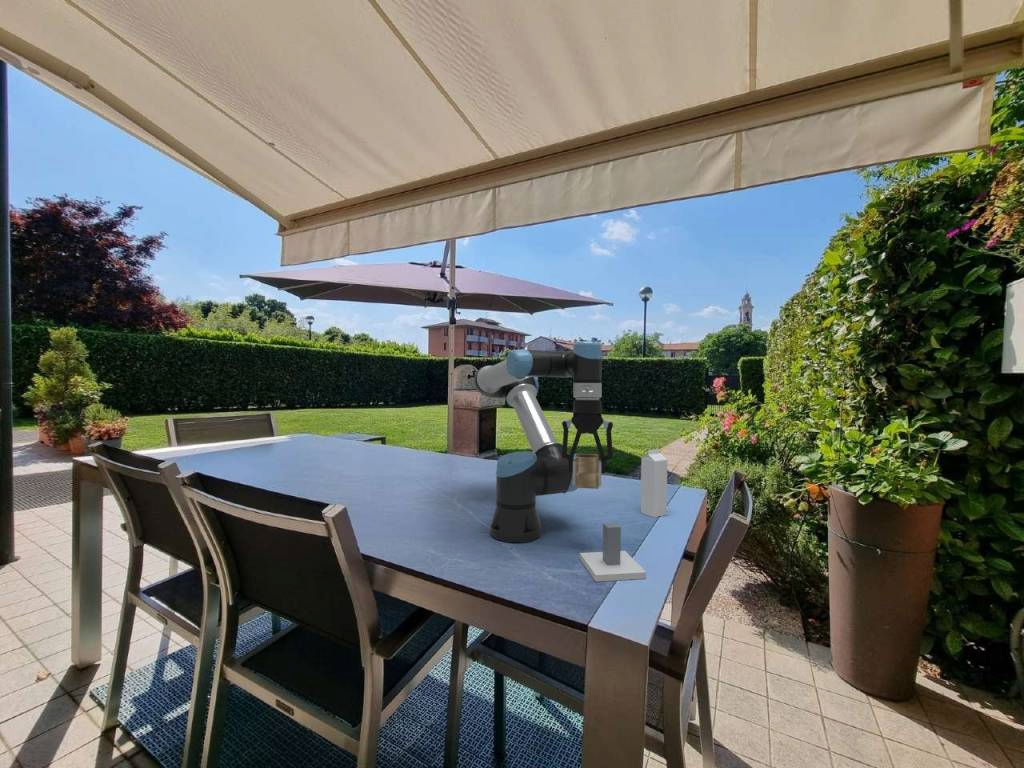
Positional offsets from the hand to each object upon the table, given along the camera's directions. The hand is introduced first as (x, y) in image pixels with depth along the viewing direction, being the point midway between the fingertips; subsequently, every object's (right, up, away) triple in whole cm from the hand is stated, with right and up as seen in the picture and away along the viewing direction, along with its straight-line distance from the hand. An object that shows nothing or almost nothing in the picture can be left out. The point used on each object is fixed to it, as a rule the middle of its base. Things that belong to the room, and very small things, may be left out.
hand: (586, 484), depth 113 cm
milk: (+28, -17, +29) cm, 44 cm away
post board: (+4, -17, -12) cm, 21 cm away
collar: (0, 0, 0) cm, 0 cm away
